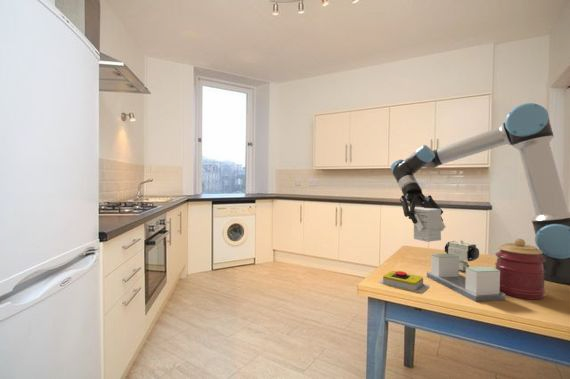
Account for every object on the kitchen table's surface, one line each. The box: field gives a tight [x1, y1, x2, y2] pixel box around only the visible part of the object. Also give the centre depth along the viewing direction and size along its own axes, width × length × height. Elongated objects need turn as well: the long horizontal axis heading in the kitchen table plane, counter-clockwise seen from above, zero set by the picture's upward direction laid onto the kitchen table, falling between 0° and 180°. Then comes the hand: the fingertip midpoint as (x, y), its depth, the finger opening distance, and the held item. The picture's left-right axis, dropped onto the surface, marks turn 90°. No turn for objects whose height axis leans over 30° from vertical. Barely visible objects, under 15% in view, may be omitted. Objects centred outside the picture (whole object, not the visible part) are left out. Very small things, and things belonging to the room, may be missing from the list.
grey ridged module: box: [413, 207, 442, 243], centre depth 122 cm, size 7×7×13 cm
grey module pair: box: [430, 253, 500, 295], centre depth 103 cm, size 22×8×7 cm, turn 9°
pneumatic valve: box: [444, 239, 480, 272], centre depth 124 cm, size 6×12×12 cm, turn 32°
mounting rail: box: [426, 271, 506, 303], centre depth 103 cm, size 24×10×2 cm, turn 9°
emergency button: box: [378, 270, 431, 294], centre depth 106 cm, size 9×4×15 cm
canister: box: [494, 238, 546, 300], centre depth 99 cm, size 13×13×18 cm
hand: (432, 229), depth 119 cm, fingers closed on grey ridged module, 9 cm apart
